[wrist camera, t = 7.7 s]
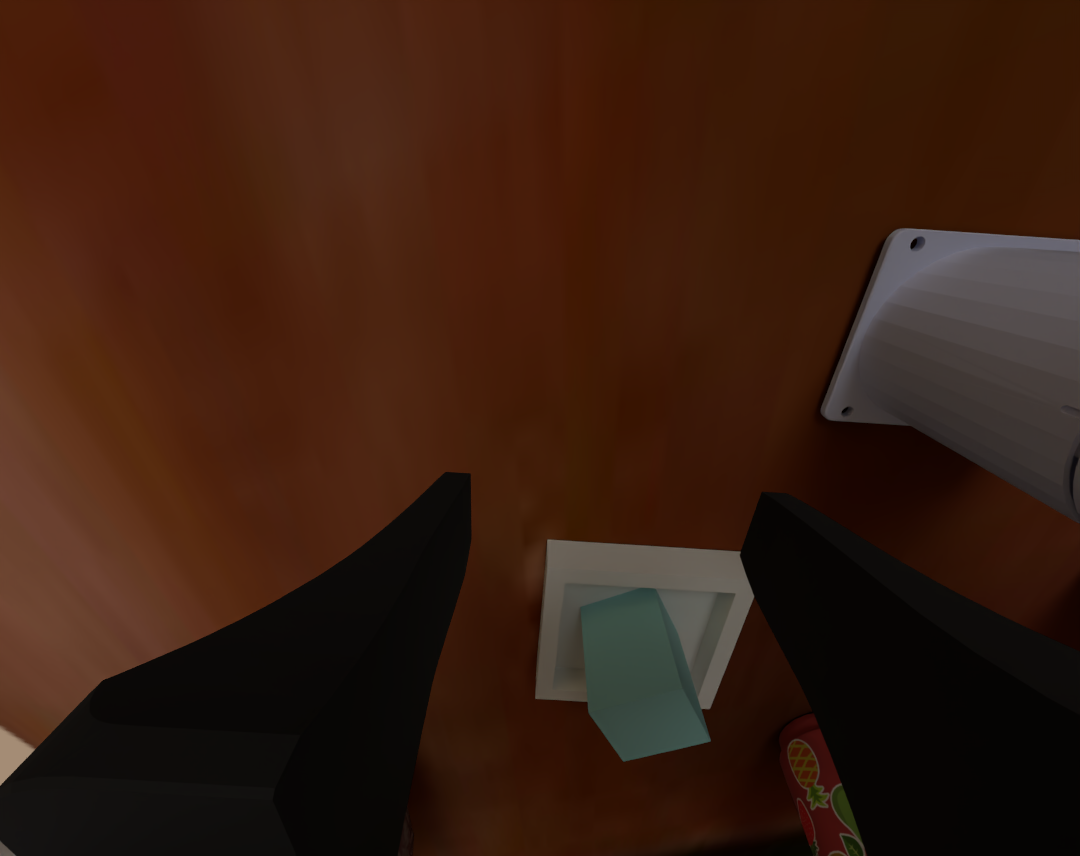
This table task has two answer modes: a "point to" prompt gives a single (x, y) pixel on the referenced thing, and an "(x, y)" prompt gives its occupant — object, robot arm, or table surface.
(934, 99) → the table surface
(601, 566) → the tray
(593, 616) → the block
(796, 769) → the smoothie
